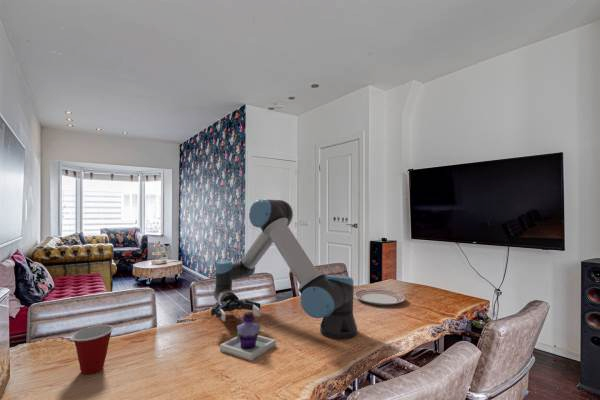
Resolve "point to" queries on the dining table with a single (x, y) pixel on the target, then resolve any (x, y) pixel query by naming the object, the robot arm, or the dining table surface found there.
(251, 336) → the potion bottle
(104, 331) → the plastic cup
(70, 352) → the dining table surface
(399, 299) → the dinner plate
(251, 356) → the dish
